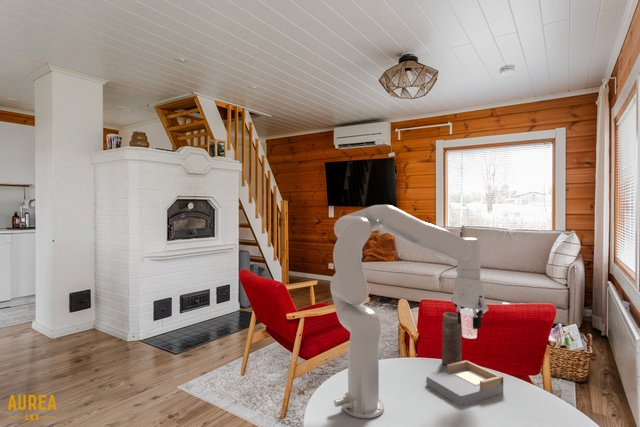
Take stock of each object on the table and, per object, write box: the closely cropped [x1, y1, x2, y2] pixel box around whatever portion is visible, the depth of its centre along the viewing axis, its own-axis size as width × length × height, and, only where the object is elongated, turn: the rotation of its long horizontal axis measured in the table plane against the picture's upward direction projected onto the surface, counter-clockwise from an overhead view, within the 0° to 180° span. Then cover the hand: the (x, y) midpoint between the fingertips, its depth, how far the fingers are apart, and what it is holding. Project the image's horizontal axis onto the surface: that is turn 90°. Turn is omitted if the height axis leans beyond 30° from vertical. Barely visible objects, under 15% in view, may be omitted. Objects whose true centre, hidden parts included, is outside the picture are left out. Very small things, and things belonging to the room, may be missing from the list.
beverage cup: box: [460, 307, 478, 340], centre depth 130 cm, size 6×6×14 cm
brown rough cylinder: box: [441, 311, 463, 366], centre depth 152 cm, size 8×7×20 cm
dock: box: [426, 359, 504, 406], centre depth 130 cm, size 19×16×6 cm
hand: (469, 325), depth 130 cm, fingers closed on beverage cup, 6 cm apart
